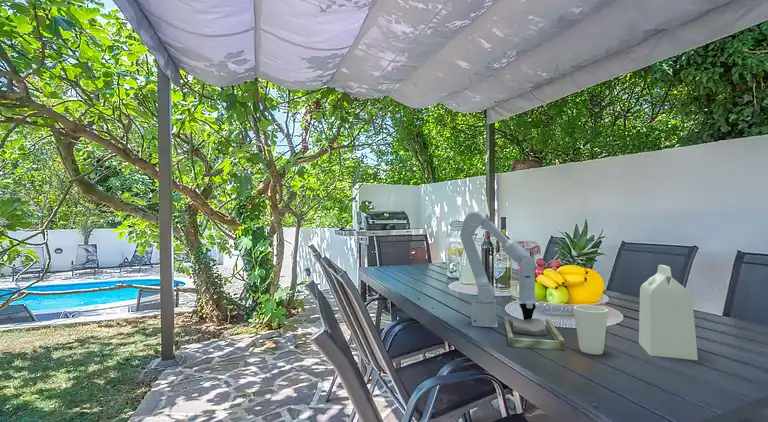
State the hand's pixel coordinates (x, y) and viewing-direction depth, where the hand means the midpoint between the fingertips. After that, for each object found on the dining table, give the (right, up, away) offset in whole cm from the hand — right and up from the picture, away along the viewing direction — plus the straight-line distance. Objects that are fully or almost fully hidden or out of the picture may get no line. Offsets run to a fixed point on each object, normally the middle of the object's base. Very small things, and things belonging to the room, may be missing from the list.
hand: (527, 323), depth 143 cm
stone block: (-2, -2, -6) cm, 6 cm away
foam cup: (+10, -1, -26) cm, 28 cm away
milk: (+32, -1, -27) cm, 42 cm away
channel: (-3, -1, -10) cm, 10 cm away
